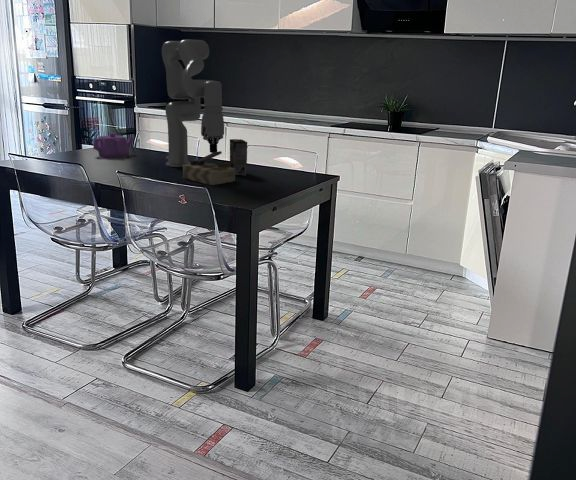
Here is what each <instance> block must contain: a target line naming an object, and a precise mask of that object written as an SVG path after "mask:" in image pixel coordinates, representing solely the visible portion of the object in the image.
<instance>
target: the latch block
mask: <svg viewBox="0 0 576 480" xmlns="http://www.w3.org/2000/svg"><path fill="white" fill-rule="evenodd" d="M189 162H190V164H187V165H183V167H182V178H183V179H185V180H190V181H193V182H197V183H202V184H205V185H208V186H216V185H220V184H226V183H227V182H228V183H233V181H234V182H236V176H235V168H232V167H230V166H228V165H229V164H228V163H220V164H218V163H214V162H208V161H205V162H203V163H200V164H195V161H194V160H190V161H189Z"/></svg>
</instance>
